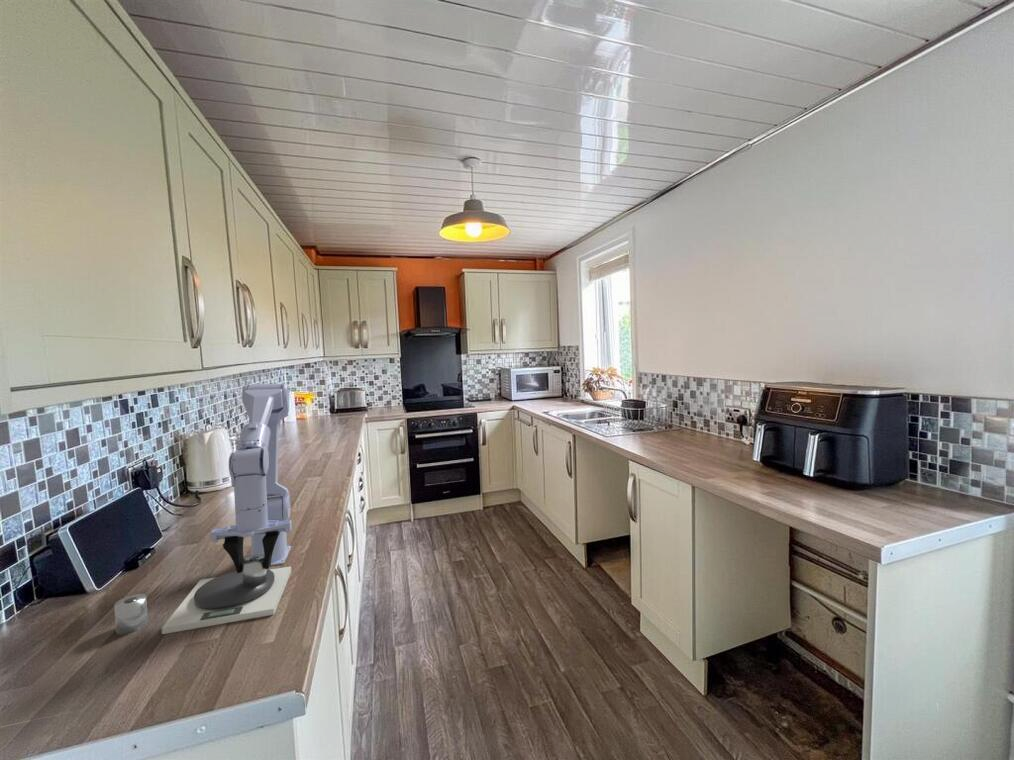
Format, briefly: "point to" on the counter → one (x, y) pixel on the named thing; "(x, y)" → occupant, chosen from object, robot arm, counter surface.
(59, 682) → the counter surface
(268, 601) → the scale base
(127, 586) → the counter surface
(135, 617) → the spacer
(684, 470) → the counter surface
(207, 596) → the scale pan
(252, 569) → the cylinder
